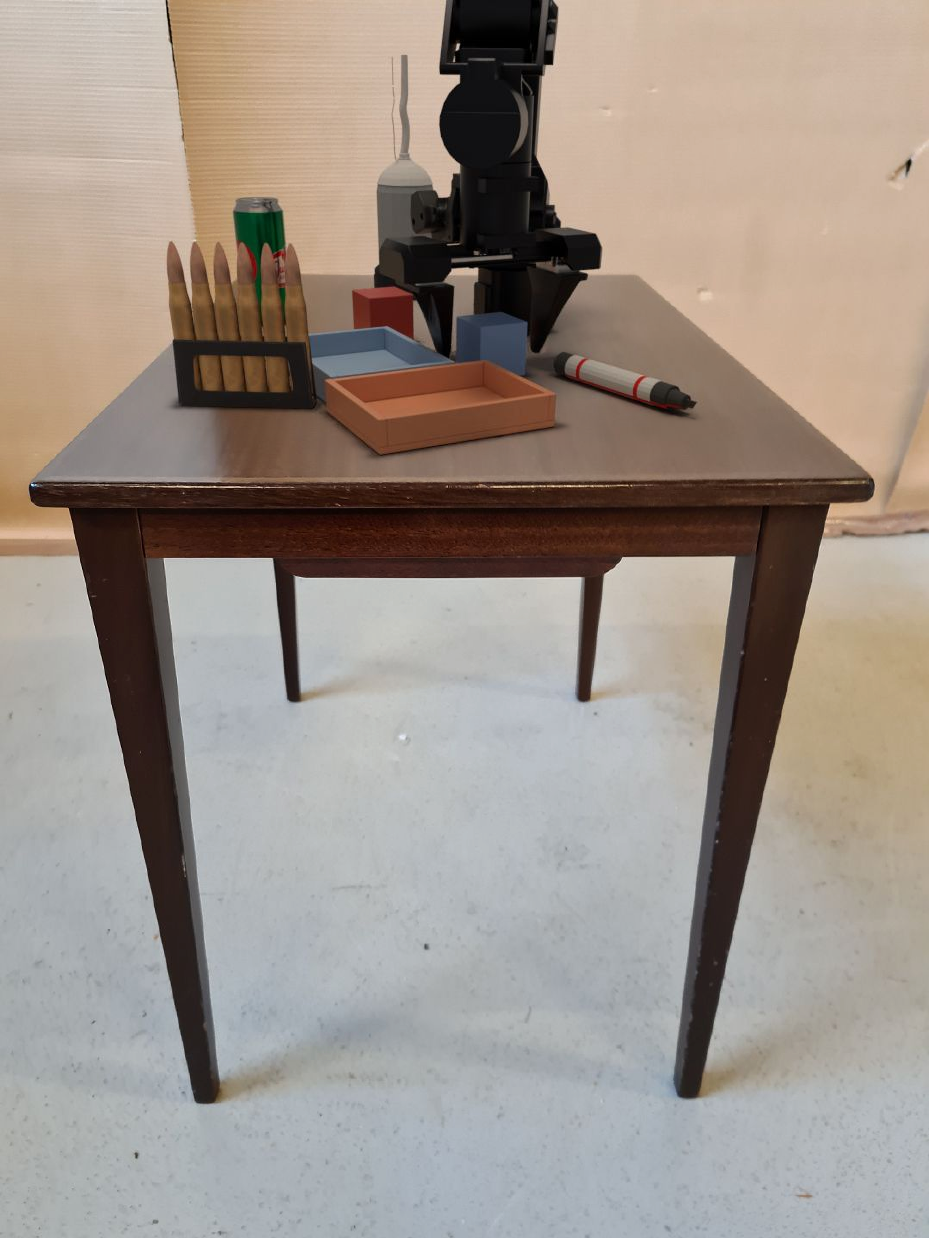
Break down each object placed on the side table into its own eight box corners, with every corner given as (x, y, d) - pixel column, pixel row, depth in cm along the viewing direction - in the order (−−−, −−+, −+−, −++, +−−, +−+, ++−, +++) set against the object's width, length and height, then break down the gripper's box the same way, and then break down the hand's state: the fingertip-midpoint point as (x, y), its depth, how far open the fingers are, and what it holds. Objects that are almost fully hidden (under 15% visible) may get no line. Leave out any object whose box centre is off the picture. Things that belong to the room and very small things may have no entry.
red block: (395, 333, 93) (394, 286, 91) (414, 342, 90) (413, 294, 87) (354, 337, 91) (351, 290, 89) (371, 347, 88) (369, 298, 86)
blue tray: (388, 352, 86) (387, 326, 85) (455, 391, 75) (455, 361, 74) (278, 365, 82) (276, 337, 81) (332, 408, 71) (330, 376, 70)
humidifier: (454, 293, 112) (455, 55, 99) (407, 302, 106) (402, 53, 94) (407, 284, 116) (402, 56, 104) (360, 293, 111) (349, 54, 98)
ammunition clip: (178, 405, 71) (153, 243, 65) (185, 398, 73) (162, 239, 67) (313, 408, 71) (300, 245, 65) (317, 401, 73) (305, 241, 66)
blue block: (500, 363, 83) (501, 311, 81) (525, 375, 80) (527, 322, 77) (455, 368, 82) (456, 316, 79) (479, 381, 78) (480, 327, 76)
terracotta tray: (486, 389, 76) (486, 359, 75) (554, 426, 68) (556, 393, 66) (326, 411, 70) (324, 379, 69) (379, 455, 62) (378, 419, 61)
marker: (552, 376, 80) (553, 353, 79) (568, 372, 81) (570, 350, 80) (686, 420, 69) (690, 395, 68) (703, 416, 70) (707, 391, 69)
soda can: (282, 327, 95) (271, 202, 89) (237, 324, 96) (222, 201, 89) (299, 317, 99) (289, 197, 93) (255, 314, 100) (243, 195, 94)
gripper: (542, 153, 82) (533, 329, 90) (349, 157, 75) (359, 348, 82) (613, 161, 74) (597, 354, 81) (404, 167, 66) (409, 378, 74)
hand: (490, 357), depth 80 cm, fingers open, 9 cm apart
